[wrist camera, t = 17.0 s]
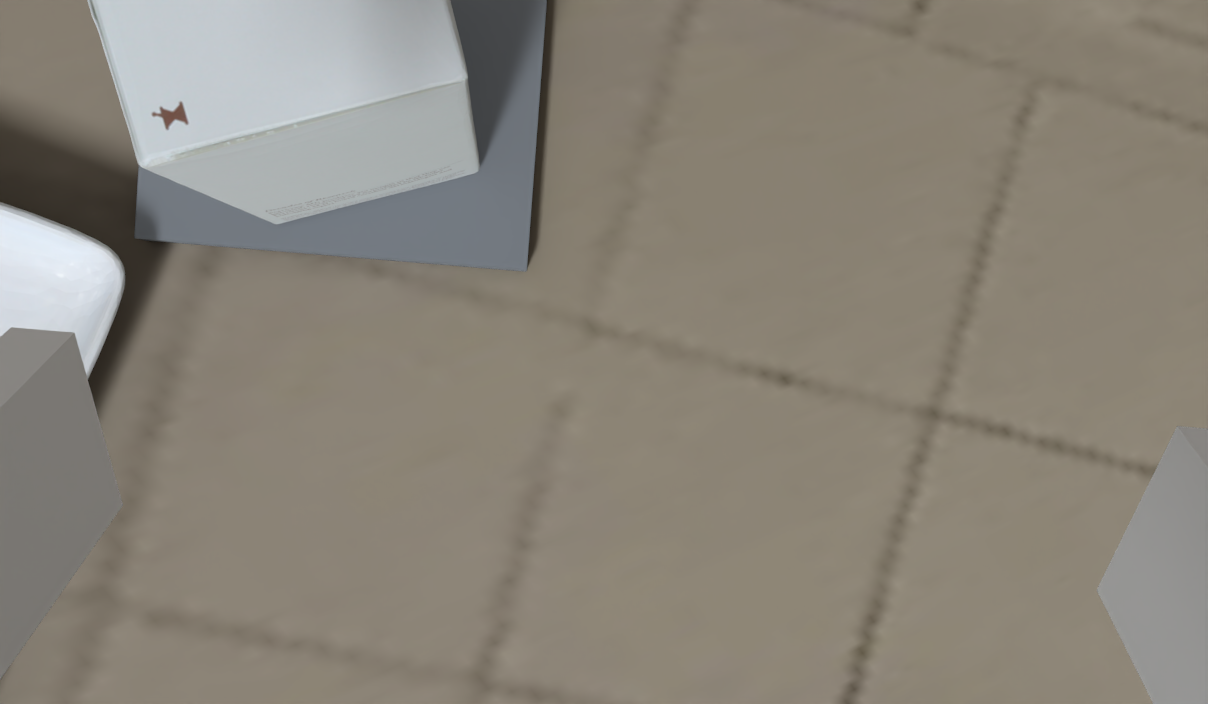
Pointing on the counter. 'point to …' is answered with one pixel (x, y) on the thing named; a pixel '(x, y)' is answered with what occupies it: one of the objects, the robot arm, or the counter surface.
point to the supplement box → (292, 98)
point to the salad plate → (57, 280)
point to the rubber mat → (420, 216)
